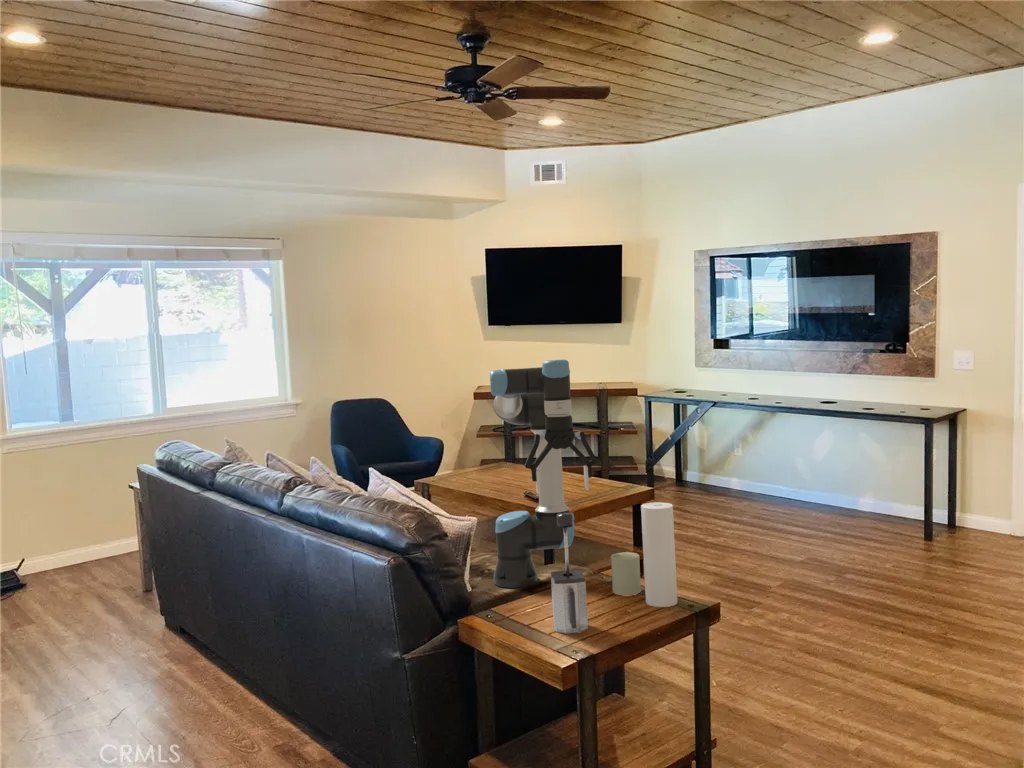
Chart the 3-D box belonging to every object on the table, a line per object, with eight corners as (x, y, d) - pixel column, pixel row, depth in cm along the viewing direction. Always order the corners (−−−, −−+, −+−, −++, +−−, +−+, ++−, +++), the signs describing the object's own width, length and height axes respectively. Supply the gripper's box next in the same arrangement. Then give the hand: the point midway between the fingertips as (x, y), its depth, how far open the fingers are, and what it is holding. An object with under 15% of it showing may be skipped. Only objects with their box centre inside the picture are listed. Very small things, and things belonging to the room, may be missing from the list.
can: (612, 587, 248) (610, 550, 248) (641, 587, 247) (639, 550, 246) (612, 596, 239) (610, 558, 239) (642, 596, 238) (640, 558, 237)
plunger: (555, 582, 217) (551, 512, 216) (578, 580, 218) (574, 511, 217) (558, 589, 211) (554, 517, 210) (581, 587, 211) (577, 516, 210)
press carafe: (551, 622, 219) (548, 571, 218) (584, 620, 220) (582, 568, 219) (557, 639, 207) (554, 584, 206) (592, 636, 207) (589, 581, 207)
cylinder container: (677, 607, 226) (672, 506, 225) (645, 606, 228) (640, 507, 227) (677, 596, 235) (672, 500, 234) (646, 596, 237) (641, 500, 236)
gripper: (514, 419, 208) (519, 496, 208) (605, 413, 209) (609, 490, 210) (512, 417, 215) (517, 491, 216) (600, 411, 217) (604, 485, 217)
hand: (562, 491), depth 213 cm, fingers open, 13 cm apart
